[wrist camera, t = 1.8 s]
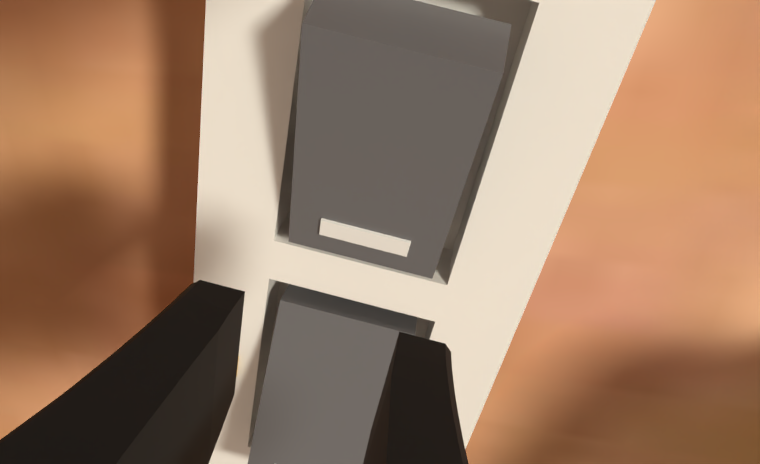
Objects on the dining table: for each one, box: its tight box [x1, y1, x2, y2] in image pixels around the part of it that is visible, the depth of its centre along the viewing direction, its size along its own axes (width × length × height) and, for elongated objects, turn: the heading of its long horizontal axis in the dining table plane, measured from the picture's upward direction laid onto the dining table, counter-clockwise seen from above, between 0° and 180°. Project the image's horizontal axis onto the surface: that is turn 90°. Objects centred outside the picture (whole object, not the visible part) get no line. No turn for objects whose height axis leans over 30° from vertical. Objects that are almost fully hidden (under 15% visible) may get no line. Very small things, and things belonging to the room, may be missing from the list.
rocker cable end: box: [288, 0, 512, 279], centre depth 15 cm, size 3×6×2 cm, turn 169°
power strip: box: [194, 0, 656, 464], centre depth 19 cm, size 8×30×4 cm, turn 169°
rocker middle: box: [248, 284, 417, 464], centre depth 19 cm, size 3×6×2 cm, turn 169°
